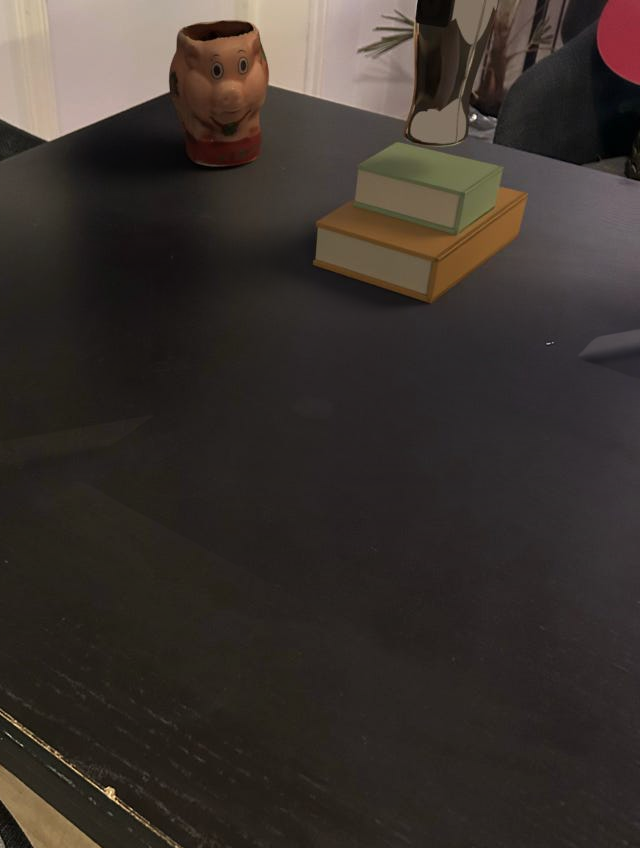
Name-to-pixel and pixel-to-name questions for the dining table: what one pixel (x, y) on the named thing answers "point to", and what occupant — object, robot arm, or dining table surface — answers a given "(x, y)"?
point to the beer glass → (447, 73)
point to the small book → (427, 187)
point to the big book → (413, 247)
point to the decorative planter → (219, 90)
